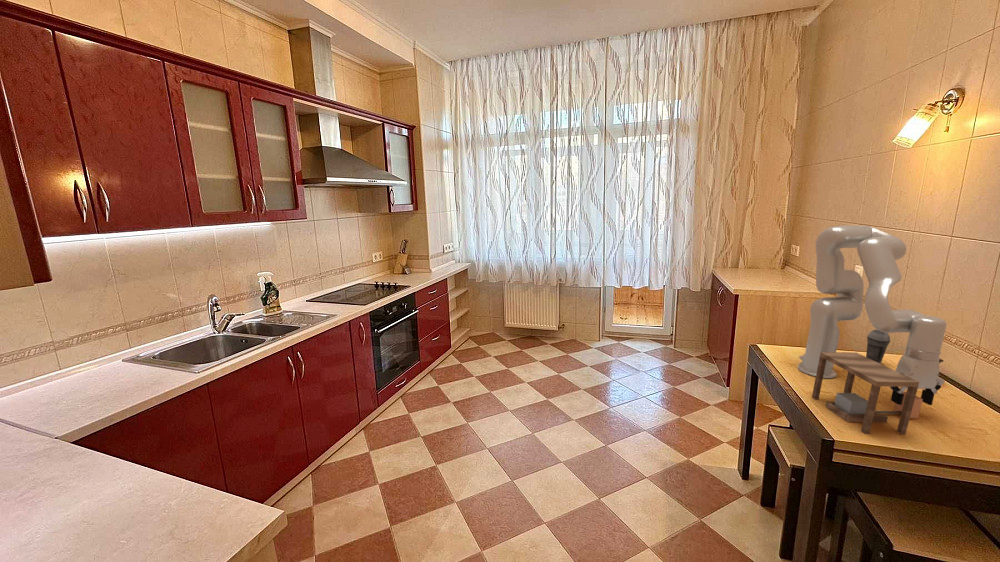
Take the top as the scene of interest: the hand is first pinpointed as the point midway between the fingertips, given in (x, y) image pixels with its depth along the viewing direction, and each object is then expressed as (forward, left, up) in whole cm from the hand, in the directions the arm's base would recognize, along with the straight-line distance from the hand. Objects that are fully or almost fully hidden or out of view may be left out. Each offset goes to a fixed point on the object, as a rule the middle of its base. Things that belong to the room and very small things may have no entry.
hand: (910, 402), depth 132 cm
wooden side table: (-1, -17, -5) cm, 17 cm away
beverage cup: (-41, +24, -5) cm, 48 cm away
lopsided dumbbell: (-1, -10, -4) cm, 11 cm away
